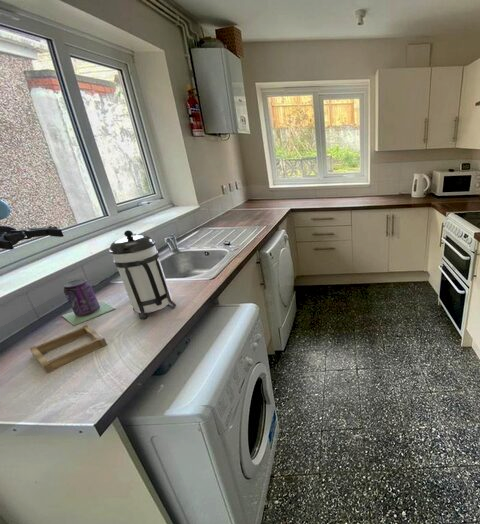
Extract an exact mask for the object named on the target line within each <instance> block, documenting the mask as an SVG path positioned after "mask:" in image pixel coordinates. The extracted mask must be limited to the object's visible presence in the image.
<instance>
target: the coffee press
mask: <svg viewBox="0 0 480 524" xmlns="http://www.w3.org/2000/svg"><path fill="white" fill-rule="evenodd" d="M133 234H134V233H133V231H131V230H128V229H127V230H125V231H124V234H123V235H124V236H125V237H121V238H118V239H116V240H114V241H113V242H111V244H110V245H109V248H108V252H109V254H110V255H111V256H112V258H113V263H114V266H115V267H116V268H117V270H118V273H119V276H120V278H121V281H122V283H123V286H124V289H125V291H126V293H127V297H128V299H129V301H130V303H131V306H132V310H133V311H134V312H136V313H140V314H139V319H140V320H142V321H143V320H146V319H147V318H148V314H149V313H153V312H157V311H159V310H162V309H164V308H167V307H168V308H169V309H173V310H174V309H175V308H176V307H177V304H176V303H175V302H174V301H173V300H172V299H173V298H172V294H171V291H170V287H169V284H168V282H167V278H166V275H165V273H164V269H163V266H162V263H161V260H160V254H159V251H158V249H157V248H156V247H157V246H156V241H155V240H154V239H153V238H152V237H150V236H148V235H143V234H142V235H141V234H136V236H132V235H133Z"/></svg>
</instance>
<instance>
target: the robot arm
mask: <svg viewBox="0 0 480 524" xmlns="http://www.w3.org/2000/svg"><path fill="white" fill-rule="evenodd" d="M10 214H11V206H10V205H9V204H8V203H7V202H6V201H5V200H2V199H0V221H1V220H5V219H6V218H8V217H9V216H10ZM46 236H47V237H48V236H49V237H56V238H63V237H65V235H64V233H63V231H62V229H61V228H58V226H52V225H49V226H47V227H46V226H45V227H29V228H26V229H17V228H15V227H13V226H10V225H2V224H1V225H0V250H10V251H11V250H15V249H14V248H15V247H14V246H15V245H17V244H18V243H19V242H21V241H25V240H31V239H33V238H39V237H46Z"/></svg>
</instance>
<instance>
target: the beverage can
mask: <svg viewBox="0 0 480 524" xmlns="http://www.w3.org/2000/svg"><path fill="white" fill-rule="evenodd" d="M62 286H63V293H64V295H65V298H66V299H67V301H68V303H69V304H70V307H71V309H72V312H73V311H74V313H75V315H78V316H84V315H89V314H91V313H94V312H95V311H97V310H98V309H99V308H100V305H99V303H98V302H99V301H98V298H97V296H96V295H95V294H96V293H95V291H94V289H93V287H92V285H91V283H90V282H88V280H87V279H86V278H78V279H75V280H74V279H73V280H71V281H68V282H66V283H64V284H63V285H62Z"/></svg>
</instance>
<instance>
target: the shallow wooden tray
mask: <svg viewBox="0 0 480 524" xmlns="http://www.w3.org/2000/svg"><path fill="white" fill-rule="evenodd" d="M86 335H87V336H88V337H90V339H92V341H89V342H87V343H84V344H83V345H79V346H78V347H76V348H74V349H72V350H69V351H67V352H65V353H63V354H61V355H58V356H55V357H54V358H51V359H50V360H47V358H46V357H45V356H44V355H43V354H45V353H48V352H50V351H53V350H54V349H57V348H59V347H61V346H64V345H66V344H68V343H70V342H74V341H76V340H77V339H80V338H82V337H85V336H86ZM106 346H108V344H107V341H106V339H105V338H104V337H103V336H102V335H100V333H98V332H97V331H96V330H94V329H93V328H91V327H90V326H89V325H87V324H85V325H83V326H81V327H79V328H77V329H75V330H72V331H69V332H67V333H65V334H62V335H59V336H57V337H55V338H53V339H49V340H47V341H45V342H43V343H40V344H38V345H36V346H35V345H34V346H31V347H29V351H30V352H31V355H32V356H33V357H34V358H35V360H36V361H37V362H38V364H39V365H40V366H41V367H42V368H43V369H44V371H45V372H46V373H47V374H49V373H51V372H54V370H56V369H59V368H60V367H62V366H64V365H67V364H69V363H71V362H73V361H75V360H77V359H79V358H81V357H83V356H86V355H87V354H90V353H92V352H93V351H96V350H98V349H100V348H104V347H106Z"/></svg>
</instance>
